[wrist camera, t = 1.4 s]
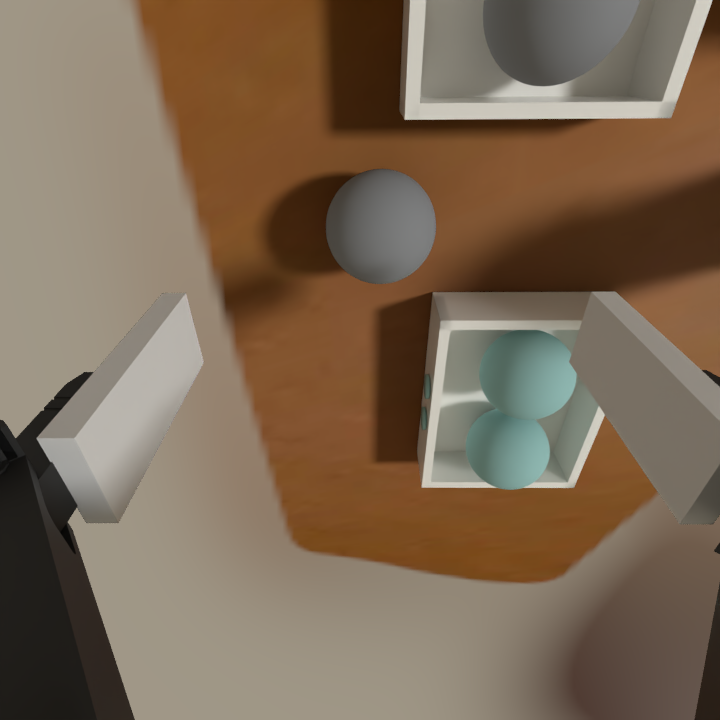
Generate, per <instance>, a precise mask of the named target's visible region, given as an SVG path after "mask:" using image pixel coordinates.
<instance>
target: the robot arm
mask: <svg viewBox="0 0 720 720" xmlns="http://www.w3.org/2000/svg"><path fill="white" fill-rule="evenodd" d="M203 363H204V362H203V358H202V354H201V350H200V346H199V342H198V338H197V334H196V330H195V326H194V322H193V318H192V315H191V311H190V307H189V303H188V299H187V295H186V293H162V294H161V295H160V297H159V298H158V299H157V300H156V301H155V302H154V304H153V305H152V306H151V307H150V308H149V309H148V310H147V312H146V313H145V314H144V315H143V316H142V317H141V319H140V320H139V321H138V322H137V323H136V324H135V325H134V327H133V328H132V329H131V330H130V331H129V332H128V333H127V335H126V336H125V337H124V338H123V339H122V340H121V341H120V343H119V344H118V345H117V346H116V347H115V348H114V350H113V351H112V352H111V353H110V354H109V355H108V357H107V358H106V359H105V360H104V361H103V362H102V363H101V365H100V366H99V367H98V368H97V369H96V370H95V371H94V372H84V373H83V374H81V375H79V376H78V377H76V378H75V379H73V380H72V381H70V382H68V383H67V384H66V385H65V386H64V387H63V388H62V389H61V390H60V391H59V392H58V393H57V395H56V396H55V397H54V400H51V401H50V402H49V403H48V404H47V405H46V406H45V407H44V411H41V412H40V413H39V414H38V415H37V416H36V417H35V418H34V419H33V421H32V422H31V423H30V424H29V425H28V426H27V427H26V428H25V429H24V430H23V431H22V432H21V434H20V435H19V436H18V437H17V438H16V439H15V437H14V436H13V434H12V432H11V431H10V429H9V428H8V426H7V425H6V424H5V422H4V421H3V420H0V720H135V719H134V716H133V713H132V710H131V707H130V704H129V701H128V698H127V695H126V692H125V689H124V685H123V682H122V679H121V676H120V673H119V670H118V667H117V664H116V661H115V658H114V655H113V652H112V649H111V646H110V643H109V640H108V637H107V634H106V630H105V627H104V624H103V621H102V618H101V615H100V612H99V609H98V606H97V603H96V600H95V597H94V594H93V591H92V588H91V585H90V582H89V579H88V576H87V573H86V569H85V566H84V563H83V560H82V557H81V554H80V551H79V548H78V545H77V542H76V539H75V536H74V533H73V530H72V528H71V527H70V525H69V524H68V520H69V519H70V517H71V515H72V514H73V512H74V511H75V509H76V508H78V510H79V512H80V513H81V515H82V517H83V519H84V520H85V522H86V523H119V521H120V519H121V517H122V515H123V514H124V512H125V510H126V508H127V506H128V504H129V502H130V500H131V499H132V497H133V495H134V493H135V490H136V489H137V487H138V485H139V483H140V482H141V479H142V478H143V476H144V474H145V472H146V470H147V468H148V466H149V465H150V463H151V461H152V459H153V457H154V455H155V453H156V451H157V450H158V448H159V446H160V444H161V442H162V440H163V438H164V436H165V434H166V433H167V431H168V429H169V427H170V425H171V423H172V421H173V420H174V418H175V416H176V414H177V412H178V410H179V408H180V406H181V404H182V403H183V401H184V399H185V397H186V395H187V393H188V391H189V389H190V388H191V385H192V383H193V382H194V380H195V378H196V376H197V374H198V372H199V371H200V369H201V367H202V365H203ZM569 363H570V364H571V366H572V367H573V369H574V370H575V372H576V373H577V374H578V376H579V377H580V379H581V380H582V382H583V383H584V385H585V386H586V388H587V389H588V391H589V392H590V393H591V395H592V396H593V398H594V399H595V401H596V402H597V404H598V405H599V407H600V408H601V410H602V411H603V413H604V414H605V415H606V417H607V418H608V420H609V421H610V423H611V424H612V426H613V427H614V429H615V430H616V432H617V433H618V435H619V436H620V437H621V439H622V440H623V442H624V443H625V445H626V446H627V448H628V449H629V451H630V452H631V454H632V455H633V456H634V458H635V459H636V461H637V462H638V464H639V465H640V467H641V468H642V470H643V471H644V473H645V474H646V476H647V477H648V478H649V480H650V481H651V483H652V484H653V486H654V487H655V489H656V490H657V492H658V493H659V495H660V496H661V498H662V499H663V500H664V502H665V503H666V505H667V506H668V508H669V509H670V511H671V512H672V514H673V515H674V517H675V518H676V519H677V521H678V522H679V524H714V522H715V521H716V520H717V518H718V517H719V515H720V377H718V376H716V375H714V374H712V373H711V372H709V371H707V370H701V369H700V368H698V367H697V366H696V365H695V364H694V363H693V362H692V361H691V360H690V359H689V358H687V357H686V356H685V355H684V354H683V353H682V352H681V351H680V350H679V349H678V348H677V347H675V346H674V345H673V344H672V343H671V342H670V341H669V340H668V339H667V338H666V337H665V336H663V335H662V334H661V333H660V332H659V331H658V330H657V329H656V328H655V327H654V326H653V325H651V324H650V323H649V322H648V321H647V320H646V319H645V318H644V317H643V316H642V315H640V314H639V313H638V312H637V311H636V310H635V309H634V308H633V307H632V306H631V305H630V304H628V303H627V302H626V301H625V300H624V299H623V298H622V297H621V296H620V295H619V294H618V293H616V292H591V295H590V298H589V301H588V304H587V307H586V311H585V314H584V317H583V320H582V323H581V326H580V329H579V332H578V336H577V339H576V342H575V345H574V348H573V351H572V354H571V357H570V361H569ZM714 551H715V552H717V553H719V554H720V543H719V544H718V546H717V547H716V549H715V550H714ZM695 720H720V585H719V590H718V596H717V601H716V606H715V612H714V617H713V622H712V628H711V634H710V639H709V644H708V650H707V655H706V661H705V667H704V672H703V677H702V682H701V688H700V693H699V698H698V704H697V709H696V715H695Z"/></svg>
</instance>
